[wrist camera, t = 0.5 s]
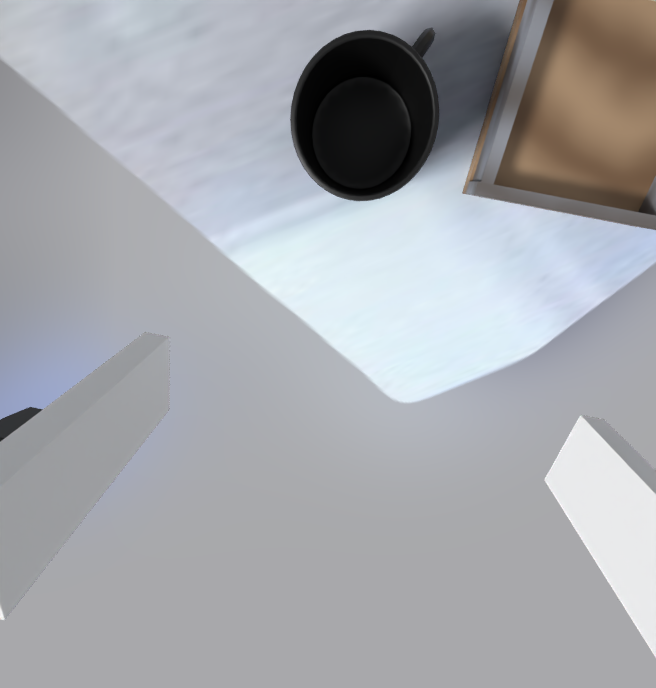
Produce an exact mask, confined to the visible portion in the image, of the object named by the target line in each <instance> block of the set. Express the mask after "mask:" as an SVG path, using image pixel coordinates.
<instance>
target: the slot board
mask: <svg viewBox="0 0 656 688" xmlns="http://www.w3.org/2000/svg"><path fill="white" fill-rule="evenodd" d="M463 194H468V195H474V196H479V197H484V198H489V199H494V200H500V201H505V202H510V203H515V204H521V205H526V206H531V207H536V208H541V209H547V210H552V211H557V212H562V213H568V214H573V215H578V216H583V217H589V218H594V219H599V220H604V221H609V222H615V223H620V224H625V225H630V226H636V227H641V228H647V229H653V230H656V0H520V1H519V5H518V8H517V12H516V15H515V18H514V22H513V25H512V28H511V32H510V35H509V38H508V42H507V45H506V48H505V52H504V55H503V59H502V62H501V65H500V69H499V72H498V75H497V79H496V82H495V85H494V89H493V92H492V95H491V99H490V102H489V105H488V109H487V112H486V116H485V119H484V122H483V126H482V129H481V132H480V136H479V139H478V142H477V146H476V149H475V152H474V156H473V159H472V163H471V166H470V169H469V173H468V176H467V179H466V183H465V186H464V189H463Z"/></svg>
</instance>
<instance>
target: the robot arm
mask: <svg viewBox="0 0 656 688" xmlns="http://www.w3.org/2000/svg"><path fill="white" fill-rule="evenodd" d="M169 362H170V337H168V336H163V335H157V334H152V333H147V332H145V333H143V334H142V335H141V336H139V337H138V338H137V339H136V340H134V341H133V342H132V343H130V344H129V345H128V346H126V347H125V348H124V349H122V350H121V351H120V352H119V353H117V354H116V355H114V356H113V357H112V358H110V359H109V360H108V361H106V362H105V363H104V364H102V365H101V366H100V367H99V368H97V369H96V370H95V371H93V372H92V373H91V374H89V375H88V376H87V377H85V378H84V379H83V380H81V381H80V382H79V383H77V384H76V385H75V386H73V387H72V388H71V389H69V390H68V391H67V392H65V393H64V394H63V395H61V396H60V397H59V398H58V399H56V400H55V401H54V402H52V403H51V404H50V405H48V406H47V407H46V408H44V409H37V408H32V407H29V408H27V409H24V410H22V411H19V412H17V413H14V414H12V415H10V416H7V417H5V418H3V419H1V420H0V619H1V620H5V619H6V618H7V616H8V615H9V614H10V613H11V612H12V610H13V609H14V608H15V607H16V605H17V604H18V603H19V601H20V600H21V599H22V598H23V596H24V595H25V594H26V592H27V591H28V590H29V589H30V587H31V586H32V585H33V584H34V582H35V581H36V580H37V578H38V577H39V576H40V574H41V573H42V572H43V571H44V569H45V568H46V567H47V566H48V564H49V563H50V562H51V561H52V559H53V558H54V557H55V555H56V554H57V553H58V551H59V550H60V549H61V548H62V546H63V545H64V544H65V543H66V541H67V540H68V539H69V538H70V536H71V535H72V534H73V532H74V531H75V530H76V529H77V527H78V526H79V525H80V523H81V522H82V521H83V520H84V518H85V517H86V516H87V514H88V513H89V512H90V511H91V509H92V508H93V507H94V506H95V504H96V503H97V502H98V500H99V499H100V498H101V496H102V495H103V494H104V493H105V491H106V490H107V489H108V488H109V486H110V485H111V484H112V483H113V481H114V480H115V478H116V477H117V476H118V475H119V474H120V472H121V471H122V470H123V468H124V467H125V466H126V465H127V463H128V462H129V461H130V459H131V458H132V457H133V456H134V454H135V453H136V452H137V451H138V449H139V448H140V447H141V445H142V444H143V443H144V442H145V440H146V439H147V438H148V436H149V435H150V434H151V433H152V431H153V430H154V429H155V428H156V426H157V425H158V424H159V422H160V421H161V420H162V419H163V417H164V416H165V415H166V413H167V412H168V411H169V375H170V374H169V373H170V372H169V370H170V367H169V366H170V363H169ZM545 482H546V483H547V485H548V486H549V488H550V490H551V491H552V493H553V495H554V496H555V498H556V499H557V501H558V502H559V504H560V506H561V507H562V509H563V510H564V512H565V514H566V515H567V517H568V518H569V520H570V522H571V523H572V525H573V526H574V528H575V530H576V531H577V533H578V534H579V536H580V538H581V539H582V541H583V542H584V544H585V546H586V547H587V549H588V550H589V552H590V554H591V555H592V557H593V558H594V560H595V561H596V563H597V565H598V566H599V568H600V569H601V571H602V573H603V574H604V576H605V577H606V579H607V581H608V582H609V584H610V585H611V587H612V589H613V590H614V591H615V593H616V595H617V597H618V598H619V600H620V601H621V603H622V605H623V606H624V608H625V609H626V611H627V612H628V614H629V616H630V617H631V619H632V620H633V622H634V624H635V625H636V627H637V628H638V630H639V632H640V633H641V635H642V636H643V638H644V639H645V641H646V643H647V644H648V646H649V648H650V649H651V651H652V652H653V654H654V655H655V657H656V470H655V469H654V468H653V467H652V466H651V465H650V464H649V463H648V462H647V461H646V460H645V459H644V458H643V457H642V456H641V455H640V454H639V453H638V452H637V451H636V450H635V449H634V448H633V447H632V446H631V445H629V443H628V442H627V441H626V440H625V439H624V438H623V437H622V436H620V435H619V434H618V433H617V432H616V431H615V430H614V429H613V428H612V427H611V426H610V425H609V424H608V423H607V422H606V421H605V420H604V419H599V418H594V417H588V416H583V415H580V417H579V419H578V420H577V422H576V424H575V426H574V428H573V430H572V431H571V433H570V435H569V437H568V438H567V440H566V442H565V444H564V445H563V447H562V449H561V451H560V453H559V454H558V456H557V458H556V460H555V462H554V463H553V465H552V467H551V469H550V471H549V472H548V474H547V476H546V478H545Z"/></svg>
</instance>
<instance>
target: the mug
mask: <svg viewBox="0 0 656 688" xmlns="http://www.w3.org/2000/svg"><path fill="white" fill-rule="evenodd" d="M434 36H435V32H434V30H433V28H429V29H426V30H425V31H424V32H423V33H422V34H421V35H420V37H419V38H418V39H417V41H416V42H415V43H414V45H413V46H412V47H411V46H410V45H409V44H407V43H406V42H405V41H403V40H401V39H400V38H398V37H396V36H394V35H391V34H388V33H385V32H381V31H374V30H363V31H355V32H351V33H348V34H344V35H342V36H340V37H338V38H336V39H334V40H333V41H331V42H329V43H328V44H327V45H325V46H324V47H322V48H321V49H320V50H319V51H318V52H317V53H316V54H315V56H314V57H313V58H312V59H311V60H310V62H309V63H308V64H307V66H306V67H305V69H304V71H303V73H302V75H301V76H300V79H299V81H298V83H297V86H296V89H295V92H294V96H293V101H292V106H291V119H290V121H291V133H292V138H293V143H294V147H295V150H296V152H297V155H298V157H299V160H300V161H301V163H302V165H303V167H304V169H305V170H306V171H307V173H308V174H309V175H310V177H311V178H312V179H313V180H314V181H315V182H316V183H317V184H318V185H319V186H321V187H322V188H323V189H325V190H326V191H328V192H329V193H331V194H333V195H335V196H337V197H340V198H344V199H348V200H354V201H369V200H375V199H380V198H383V197H385V196H388V195H390V194H392V193H394V192H396V191H397V190H399V189H401V188H402V187H403V186H404V185H406V184H407V183H408V182H409V181H410V180H411V179H412V178H413V177H414V176H415V175H416V174H417V173H418V172H419V170H420V169H421V167H422V166H423V165H424V163H425V161H426V160H427V158H428V156H429V154H430V152H431V150H432V147H433V144H434V141H435V138H436V133H437V129H438V121H439V103H438V95H437V90H436V86H435V83H434V80H433V77H432V75H431V72H430V70H429V69H428V67H427V65H426V63H425V62H424V60H423V59H422V57H423V56H424V54H425V53H426V51H427V50H428V48H429V47H430V45H431V44H432V42H433V40H434Z"/></svg>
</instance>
